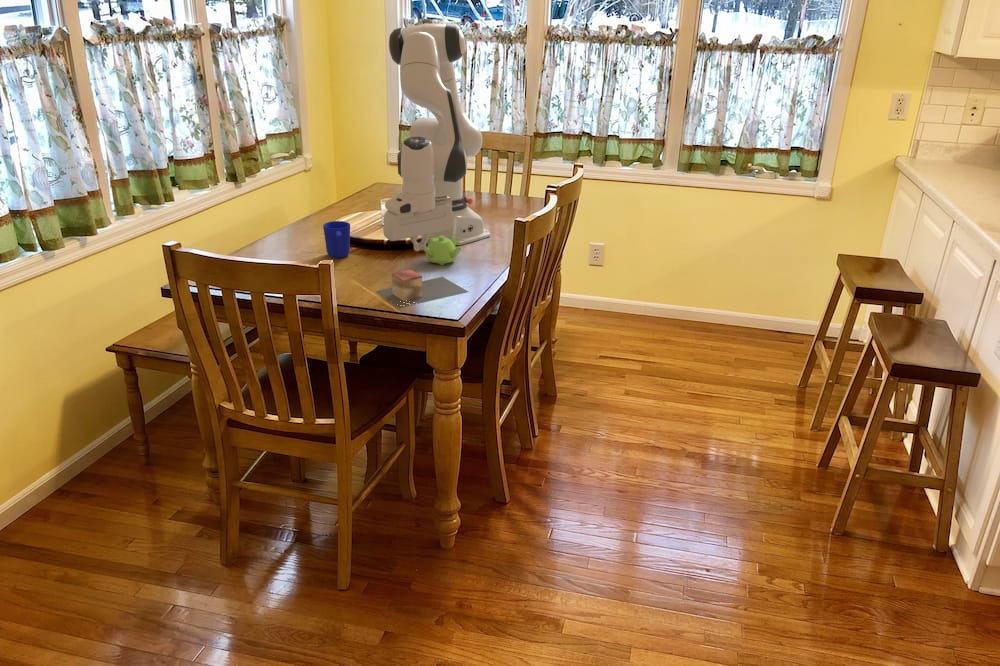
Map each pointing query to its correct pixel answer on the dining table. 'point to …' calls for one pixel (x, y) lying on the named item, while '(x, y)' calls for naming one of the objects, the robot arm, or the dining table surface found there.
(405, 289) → the cube
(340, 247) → the mug
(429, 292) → the mat
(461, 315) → the dining table surface
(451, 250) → the teapot
